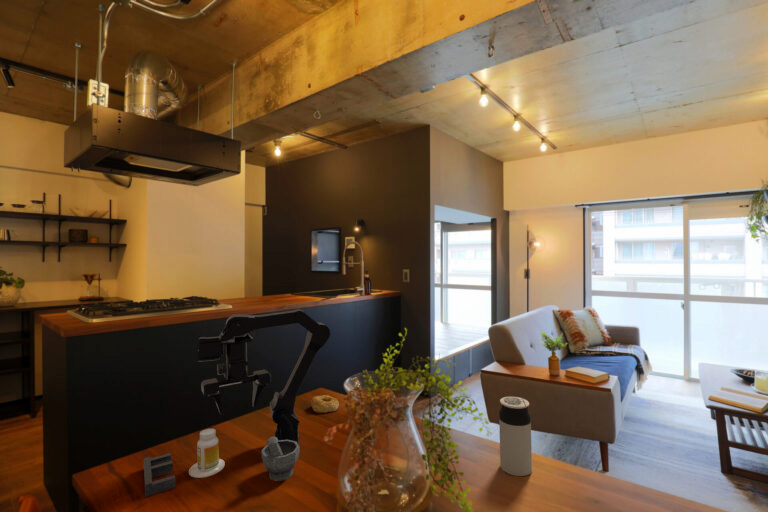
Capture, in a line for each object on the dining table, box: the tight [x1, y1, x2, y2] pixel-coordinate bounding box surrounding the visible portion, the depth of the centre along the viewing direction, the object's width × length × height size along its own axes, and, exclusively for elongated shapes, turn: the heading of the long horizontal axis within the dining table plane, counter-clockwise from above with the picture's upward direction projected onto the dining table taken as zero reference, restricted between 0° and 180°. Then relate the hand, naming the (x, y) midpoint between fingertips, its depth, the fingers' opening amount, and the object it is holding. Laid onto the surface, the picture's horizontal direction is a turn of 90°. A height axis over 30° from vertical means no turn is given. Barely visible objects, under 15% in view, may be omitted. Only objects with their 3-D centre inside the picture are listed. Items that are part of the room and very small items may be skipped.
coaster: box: [188, 458, 226, 479], centre depth 104 cm, size 9×9×1 cm
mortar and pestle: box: [260, 435, 301, 482], centre depth 100 cm, size 11×9×12 cm
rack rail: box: [143, 452, 176, 498], centre depth 100 cm, size 6×15×3 cm, turn 33°
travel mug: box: [498, 396, 533, 477], centre depth 101 cm, size 8×8×18 cm
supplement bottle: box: [196, 428, 220, 471], centre depth 104 cm, size 5×5×10 cm
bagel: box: [310, 394, 340, 414], centre depth 144 cm, size 10×11×5 cm
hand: (237, 410), depth 111 cm, fingers open, 9 cm apart
